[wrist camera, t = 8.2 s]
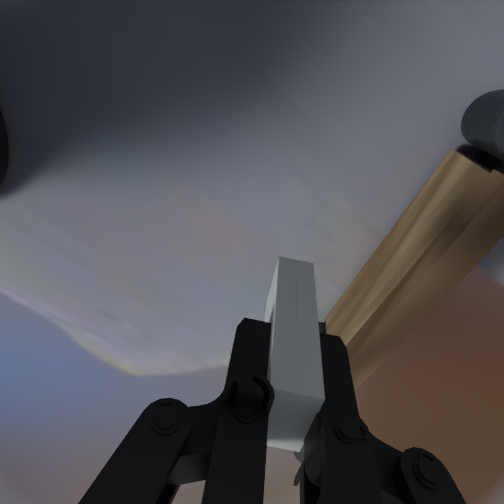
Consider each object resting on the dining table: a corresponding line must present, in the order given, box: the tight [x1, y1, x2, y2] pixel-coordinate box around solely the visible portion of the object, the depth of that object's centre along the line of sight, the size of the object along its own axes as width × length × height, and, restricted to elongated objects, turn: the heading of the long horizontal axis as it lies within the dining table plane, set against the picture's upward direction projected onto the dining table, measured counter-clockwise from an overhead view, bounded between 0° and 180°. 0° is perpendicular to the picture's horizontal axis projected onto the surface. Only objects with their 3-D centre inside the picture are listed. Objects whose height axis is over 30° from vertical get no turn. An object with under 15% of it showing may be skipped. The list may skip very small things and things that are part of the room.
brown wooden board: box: [325, 148, 504, 391], centre depth 23 cm, size 2×17×7 cm, turn 157°
